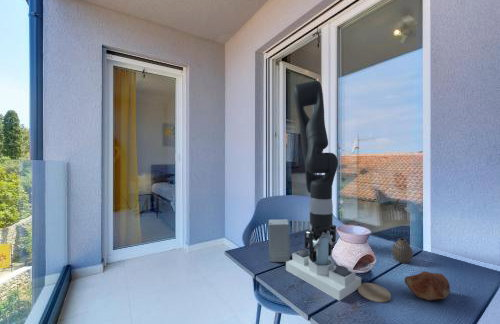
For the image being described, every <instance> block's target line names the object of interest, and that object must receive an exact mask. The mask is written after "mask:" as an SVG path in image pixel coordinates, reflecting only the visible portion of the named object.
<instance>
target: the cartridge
mask: <svg viewBox="0 0 500 324" xmlns="http://www.w3.org/2000/svg"><path fill="white" fill-rule="evenodd" d="M319 235H320V234H319ZM321 238H322V240H321V243H320V245H318V247H317V249H316V251H317V261H316V262H314V263H315V264H317V265H326V266H327V265H328V258H329V256H328V238H329V233H324V235H323V236H322V237H321ZM314 241H317V240H315V239H314ZM314 245H315V244H314Z"/></svg>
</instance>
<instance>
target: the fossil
mask: <svg viewBox="0 0 500 324" xmlns="http://www.w3.org/2000/svg"><path fill="white" fill-rule="evenodd" d="M404 283H405V284H406V286H407V287H408V289H409V290H410V291H411V293H413V294H414V295H415V296H417V297H418V298H419V299H423V300H426V301H434V300H446V298H447V297H448V296H449V294H450V291H451V289H450V287H451V285H450V282H449V281H448V278H447V277H446V276H445V275H444V274H442V273H439V272H438V273H437V272H436V273H435V272H434V273H433V272H428V271H421V273H418V274H413V275H409V276H405V278H404Z"/></svg>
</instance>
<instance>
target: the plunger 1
mask: <svg viewBox="0 0 500 324" xmlns="http://www.w3.org/2000/svg"><path fill="white" fill-rule="evenodd" d="M297 252H298V255H299V256H301V257H303V258H305V257H307V256H308V252H309V250H308V249H305V248H303V249H302V248H300V249H299V250H297Z"/></svg>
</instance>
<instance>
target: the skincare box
mask: <svg viewBox="0 0 500 324" xmlns="http://www.w3.org/2000/svg"><path fill="white" fill-rule="evenodd" d="M268 243H269V244H268V246H269V247H268V248H269V249H268V250H269V263H286V262H287V261H290V260H291V252H290V251H291V250H290V248H291V247H290V222H289V219H285V218H284V219H268Z"/></svg>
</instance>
